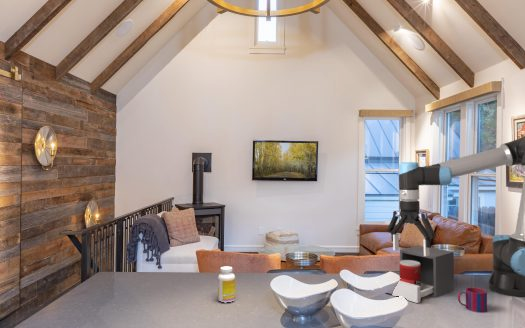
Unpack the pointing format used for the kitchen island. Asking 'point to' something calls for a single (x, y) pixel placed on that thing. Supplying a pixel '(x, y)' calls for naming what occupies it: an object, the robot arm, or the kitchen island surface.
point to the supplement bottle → (226, 284)
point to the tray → (412, 291)
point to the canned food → (410, 272)
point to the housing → (433, 268)
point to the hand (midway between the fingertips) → (410, 252)
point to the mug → (475, 299)
